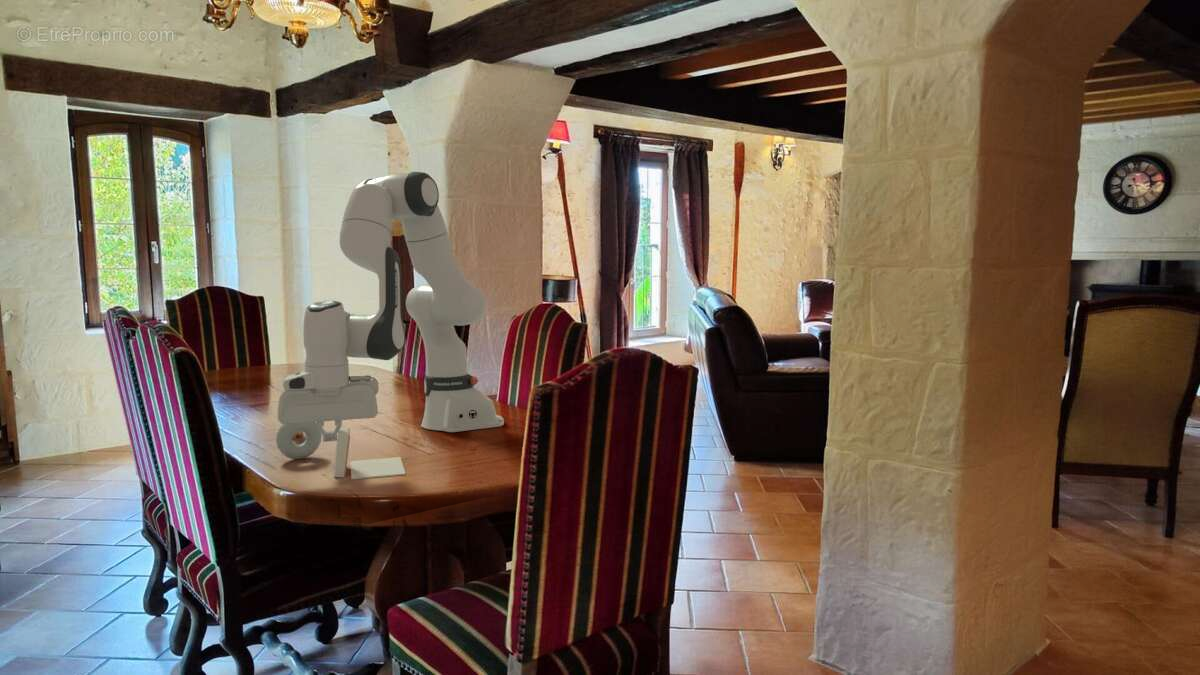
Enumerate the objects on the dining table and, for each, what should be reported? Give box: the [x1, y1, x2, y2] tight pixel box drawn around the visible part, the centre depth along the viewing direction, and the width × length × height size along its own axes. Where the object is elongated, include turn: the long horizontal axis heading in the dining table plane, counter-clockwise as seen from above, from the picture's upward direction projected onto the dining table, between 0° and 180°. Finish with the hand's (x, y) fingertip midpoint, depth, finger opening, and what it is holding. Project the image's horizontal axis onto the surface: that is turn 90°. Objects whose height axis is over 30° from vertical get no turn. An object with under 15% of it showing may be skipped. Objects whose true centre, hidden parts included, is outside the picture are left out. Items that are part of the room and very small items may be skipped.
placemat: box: [350, 456, 406, 480], centre depth 166 cm, size 11×14×1 cm
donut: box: [275, 422, 322, 460], centre depth 173 cm, size 10×4×10 cm, turn 128°
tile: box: [333, 425, 351, 478], centre depth 163 cm, size 2×9×9 cm, turn 19°
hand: (330, 440), depth 162 cm, fingers closed
